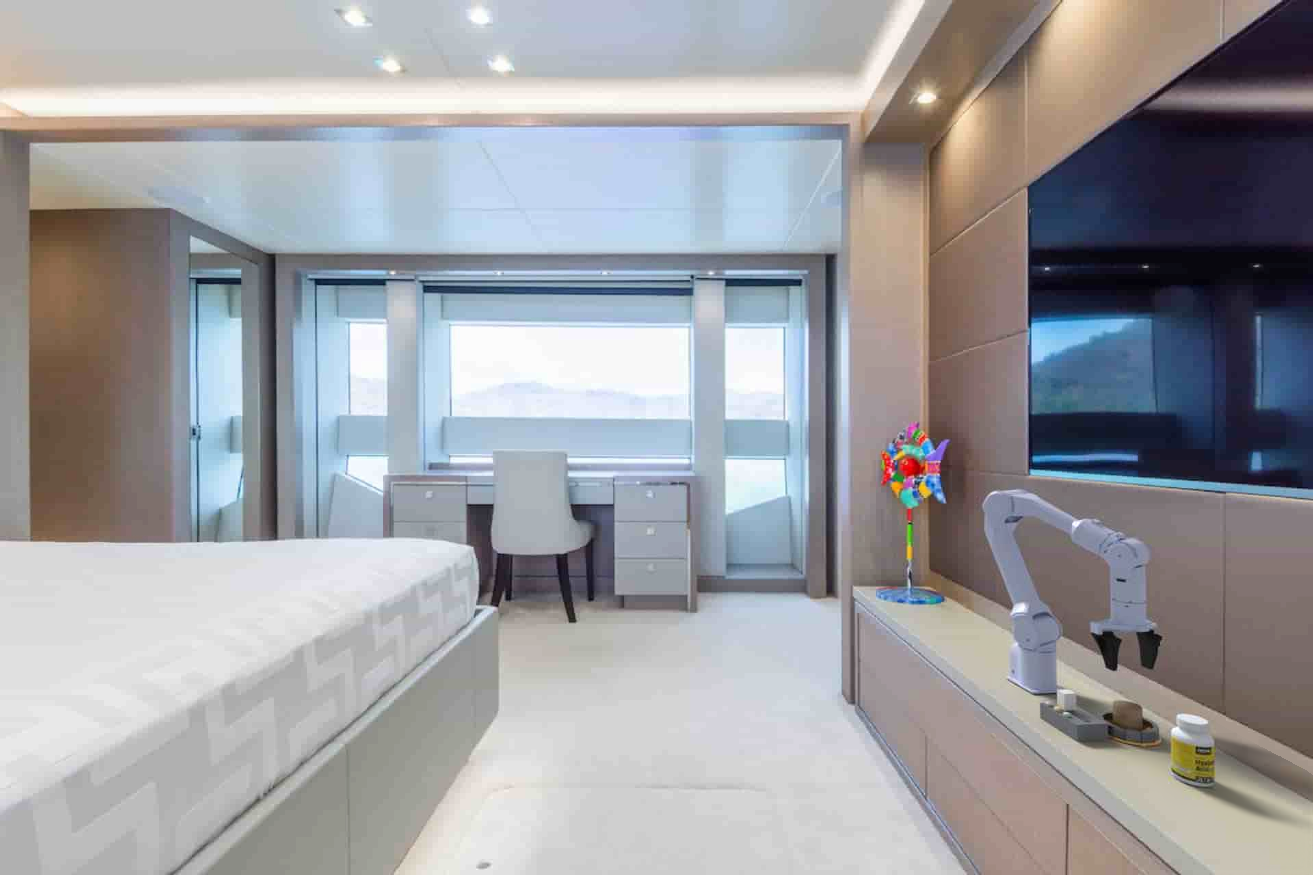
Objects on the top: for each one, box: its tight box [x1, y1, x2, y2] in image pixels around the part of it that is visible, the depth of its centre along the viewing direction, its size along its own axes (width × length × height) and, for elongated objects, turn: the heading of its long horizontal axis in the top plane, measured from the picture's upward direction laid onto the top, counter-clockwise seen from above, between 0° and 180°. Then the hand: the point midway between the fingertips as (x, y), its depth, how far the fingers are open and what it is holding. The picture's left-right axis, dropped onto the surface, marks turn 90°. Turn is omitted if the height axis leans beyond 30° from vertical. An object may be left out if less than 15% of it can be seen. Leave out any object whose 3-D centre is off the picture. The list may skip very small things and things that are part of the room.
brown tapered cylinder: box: [1112, 699, 1144, 730], centre depth 119 cm, size 4×4×5 cm
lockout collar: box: [1096, 710, 1163, 747], centre depth 119 cm, size 10×10×2 cm
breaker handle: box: [1056, 688, 1077, 711], centre depth 123 cm, size 2×2×3 cm
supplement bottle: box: [1170, 713, 1216, 788], centre depth 103 cm, size 5×5×10 cm
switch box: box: [1039, 700, 1109, 742], centre depth 122 cm, size 10×6×4 cm, turn 4°
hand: (1129, 668), depth 127 cm, fingers open, 7 cm apart
